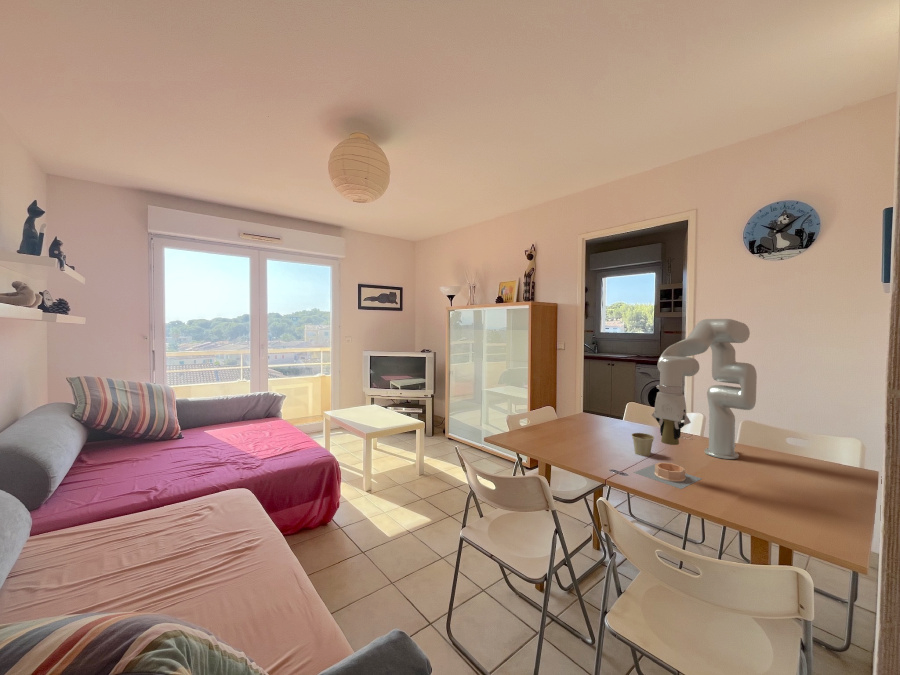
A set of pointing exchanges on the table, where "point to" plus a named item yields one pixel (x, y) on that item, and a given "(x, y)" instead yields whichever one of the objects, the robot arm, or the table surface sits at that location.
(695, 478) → the felt mat
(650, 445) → the flower pot
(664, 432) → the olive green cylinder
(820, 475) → the table surface
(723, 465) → the table surface
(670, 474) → the peach octagonal bowl
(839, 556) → the table surface
